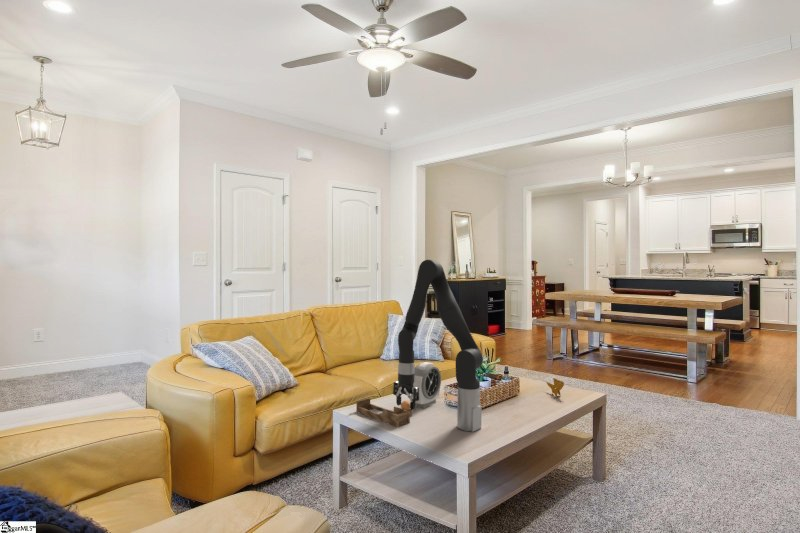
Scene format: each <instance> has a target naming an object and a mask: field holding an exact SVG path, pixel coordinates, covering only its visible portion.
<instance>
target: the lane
mask: <svg viewBox="0 0 800 533" xmlns="http://www.w3.org/2000/svg"><path fill="white" fill-rule="evenodd" d="M355 411H356V413H359V414H362V415H363V414H364V415H363V416H367V417H369V418H372V419H374V420H377V421H379V422H381V423H384V422H385V424H387V425H389V426H393V427H395V428H397V427H398V428H400V426H403V425H407V424H410V423H411V416H410V411H407V410H404V409H402V408H400V407H398V406H393V411H392V410H390V409H387V408H384V407H382V406H378V405H376V404H373V403H371V398H370V397H366V398H362V399H360V400H356V410H355Z"/></svg>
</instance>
